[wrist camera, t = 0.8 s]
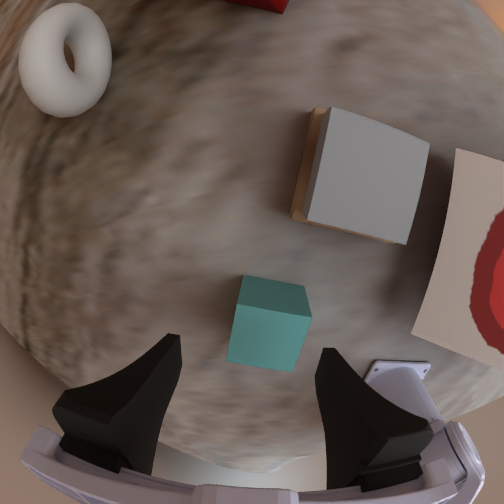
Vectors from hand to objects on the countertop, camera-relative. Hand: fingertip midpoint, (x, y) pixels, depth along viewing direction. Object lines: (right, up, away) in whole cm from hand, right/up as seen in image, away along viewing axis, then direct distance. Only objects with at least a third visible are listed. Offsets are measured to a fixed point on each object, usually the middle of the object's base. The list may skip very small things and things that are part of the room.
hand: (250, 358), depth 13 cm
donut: (-13, +21, +4) cm, 25 cm away
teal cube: (+1, +1, +10) cm, 10 cm away
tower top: (+8, +10, +4) cm, 14 cm away
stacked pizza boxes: (+29, +5, +7) cm, 30 cm away
